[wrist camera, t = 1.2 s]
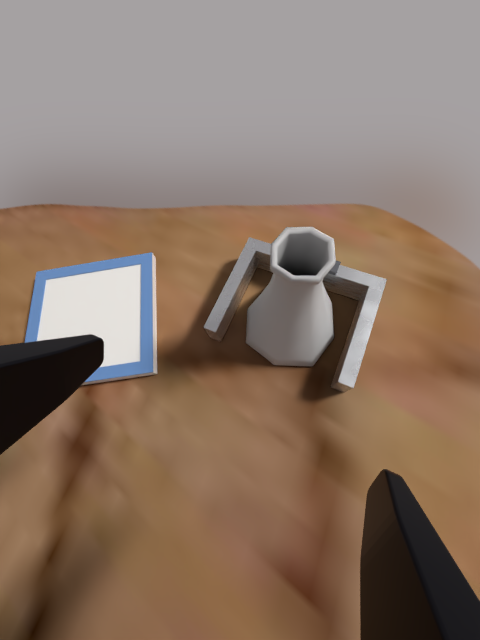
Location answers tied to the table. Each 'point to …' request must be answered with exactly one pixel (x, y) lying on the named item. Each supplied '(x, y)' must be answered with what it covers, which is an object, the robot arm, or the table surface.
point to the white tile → (102, 312)
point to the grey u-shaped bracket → (335, 281)
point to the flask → (294, 300)
